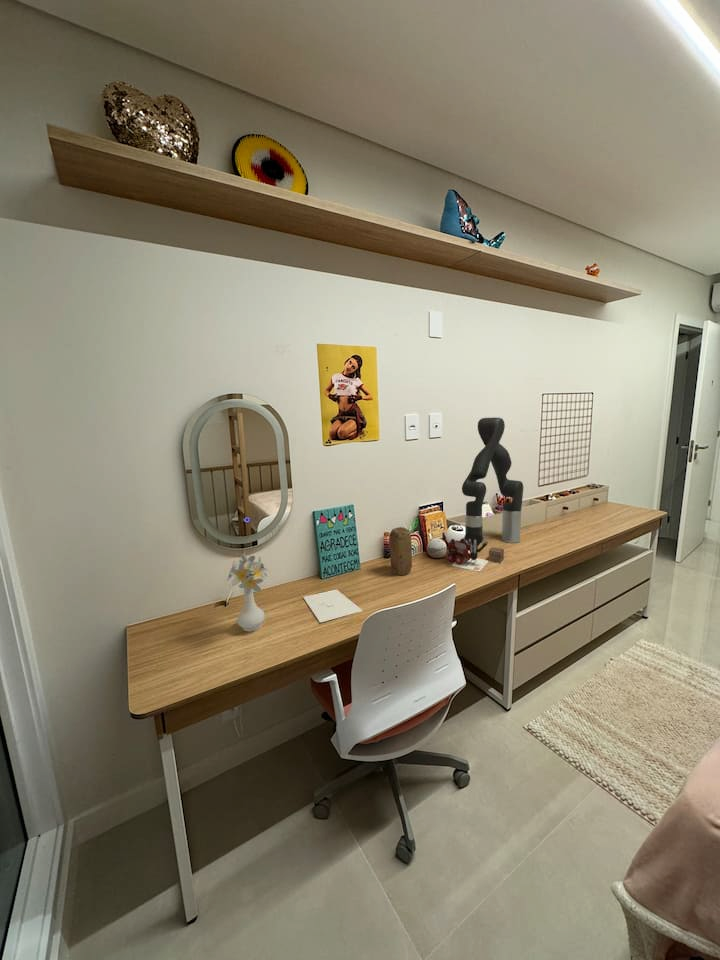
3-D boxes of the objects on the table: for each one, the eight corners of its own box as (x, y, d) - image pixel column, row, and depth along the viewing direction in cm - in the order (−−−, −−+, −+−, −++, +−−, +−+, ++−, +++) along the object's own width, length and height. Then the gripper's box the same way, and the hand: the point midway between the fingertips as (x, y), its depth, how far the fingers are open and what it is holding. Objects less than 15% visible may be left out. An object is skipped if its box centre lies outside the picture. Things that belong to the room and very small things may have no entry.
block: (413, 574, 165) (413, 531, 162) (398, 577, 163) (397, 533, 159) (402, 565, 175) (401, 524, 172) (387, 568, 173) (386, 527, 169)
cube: (492, 557, 181) (492, 546, 180) (503, 559, 177) (504, 548, 176) (488, 561, 176) (488, 550, 175) (500, 563, 173) (500, 552, 172)
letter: (462, 555, 183) (462, 555, 183) (488, 561, 176) (488, 560, 176) (451, 565, 172) (451, 565, 172) (479, 571, 165) (479, 571, 165)
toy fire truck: (453, 554, 184) (451, 535, 182) (474, 561, 174) (472, 540, 172) (443, 559, 180) (442, 539, 178) (464, 566, 170) (462, 545, 168)
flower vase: (244, 647, 118) (236, 574, 113) (227, 622, 132) (219, 556, 128) (282, 632, 125) (276, 562, 121) (261, 610, 140) (255, 547, 135)
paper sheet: (301, 596, 150) (301, 593, 150) (368, 584, 160) (368, 582, 160) (315, 625, 129) (315, 622, 128) (391, 610, 139) (391, 607, 138)
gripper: (491, 523, 169) (490, 559, 172) (462, 520, 177) (462, 554, 180) (486, 528, 163) (485, 565, 166) (457, 524, 171) (457, 559, 174)
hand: (473, 559), depth 173 cm, fingers closed
